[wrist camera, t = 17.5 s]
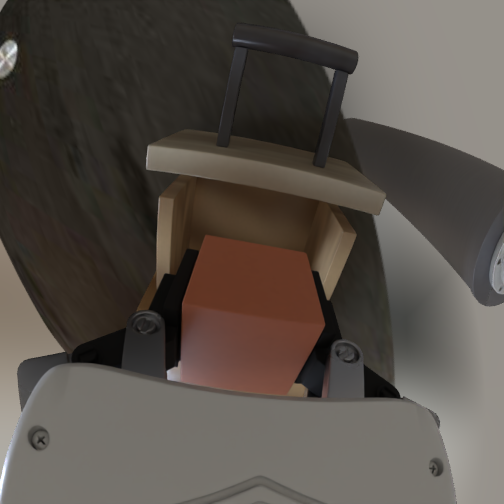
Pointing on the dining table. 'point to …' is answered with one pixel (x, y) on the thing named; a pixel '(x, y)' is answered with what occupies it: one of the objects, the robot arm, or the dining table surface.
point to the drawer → (263, 174)
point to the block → (248, 317)
